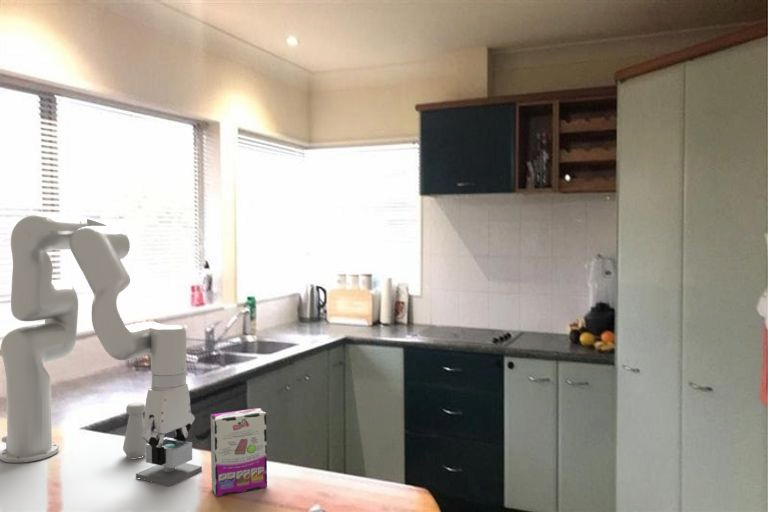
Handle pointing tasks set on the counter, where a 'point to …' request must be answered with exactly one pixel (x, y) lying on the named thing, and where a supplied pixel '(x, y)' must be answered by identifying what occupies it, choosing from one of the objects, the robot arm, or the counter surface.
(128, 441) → the salt shaker
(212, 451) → the candy bar box
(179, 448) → the link
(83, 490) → the counter surface
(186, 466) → the wall peg plate
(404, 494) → the counter surface
